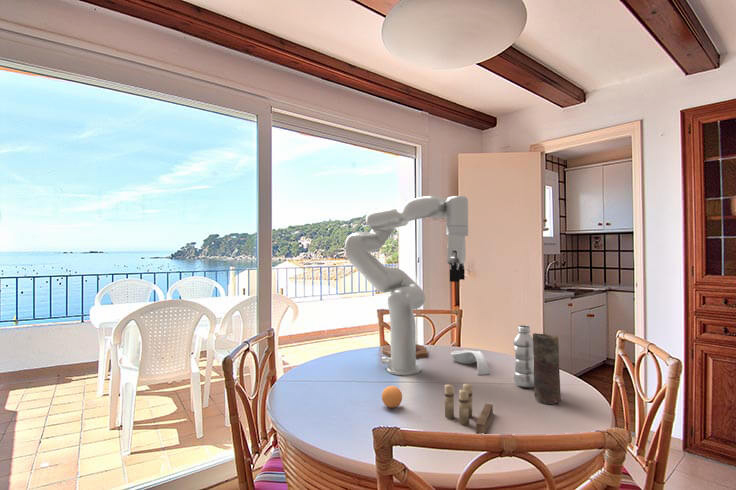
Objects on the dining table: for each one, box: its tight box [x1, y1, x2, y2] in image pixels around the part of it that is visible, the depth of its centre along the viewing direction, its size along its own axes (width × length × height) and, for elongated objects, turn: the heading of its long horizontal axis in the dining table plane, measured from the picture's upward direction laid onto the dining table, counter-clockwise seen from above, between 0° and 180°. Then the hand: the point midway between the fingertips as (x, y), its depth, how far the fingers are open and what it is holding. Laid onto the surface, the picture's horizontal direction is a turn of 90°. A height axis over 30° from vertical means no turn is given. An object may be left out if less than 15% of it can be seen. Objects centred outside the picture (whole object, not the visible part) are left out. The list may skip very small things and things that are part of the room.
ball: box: [381, 385, 403, 409], centre depth 117 cm, size 6×6×6 cm
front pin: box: [444, 383, 455, 420], centre depth 110 cm, size 2×2×8 cm
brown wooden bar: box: [475, 403, 494, 434], centre depth 106 cm, size 2×14×2 cm, turn 155°
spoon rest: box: [450, 350, 491, 376], centre depth 158 cm, size 24×12×7 cm, turn 9°
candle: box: [532, 332, 562, 405], centre depth 122 cm, size 8×7×20 cm
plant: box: [382, 341, 429, 360], centre depth 177 cm, size 20×20×11 cm
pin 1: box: [462, 383, 473, 419], centre depth 110 cm, size 2×2×8 cm
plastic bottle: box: [513, 325, 534, 388], centre depth 134 cm, size 6×7×20 cm
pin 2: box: [458, 389, 470, 426], centre depth 106 cm, size 2×2×8 cm
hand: (457, 280), depth 140 cm, fingers open, 9 cm apart
